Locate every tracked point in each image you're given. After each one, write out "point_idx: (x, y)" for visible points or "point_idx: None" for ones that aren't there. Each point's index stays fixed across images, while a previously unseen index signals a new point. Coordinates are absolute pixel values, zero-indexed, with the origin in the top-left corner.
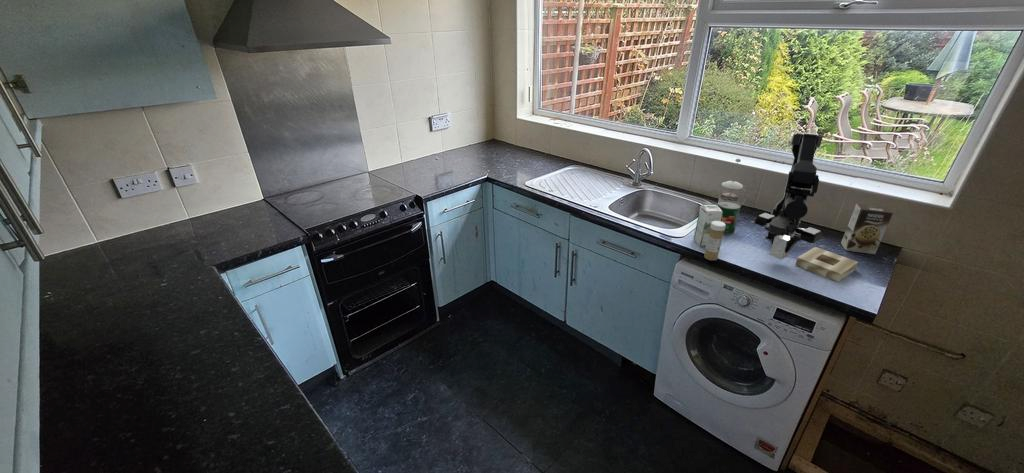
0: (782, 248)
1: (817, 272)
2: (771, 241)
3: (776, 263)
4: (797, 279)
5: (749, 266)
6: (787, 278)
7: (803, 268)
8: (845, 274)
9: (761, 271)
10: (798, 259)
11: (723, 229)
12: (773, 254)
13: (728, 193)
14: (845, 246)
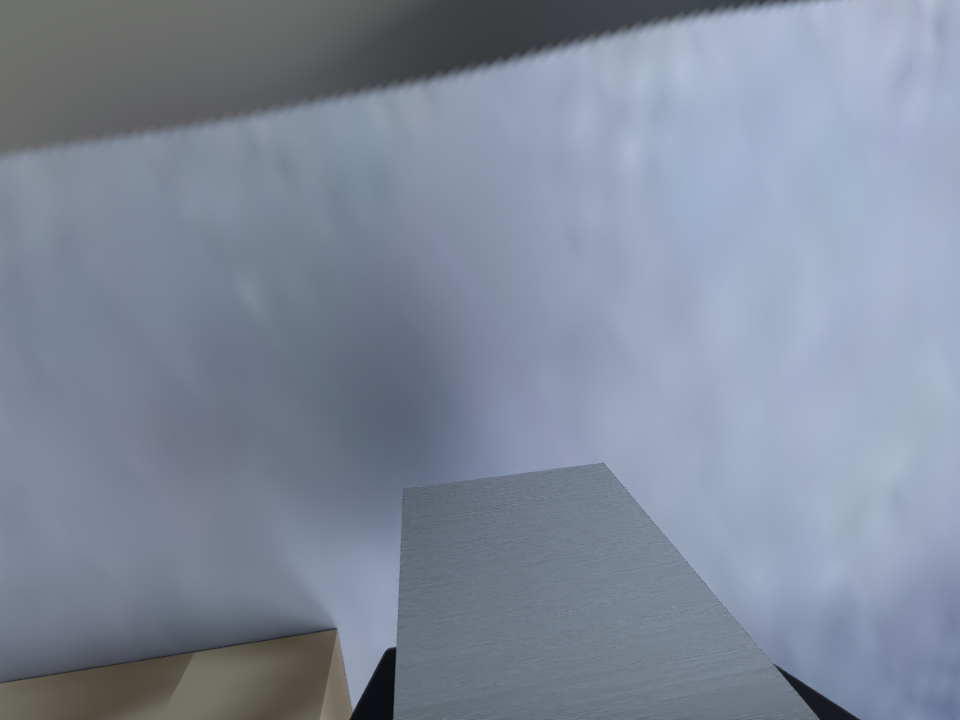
0: (458, 647)
1: (50, 690)
2: (816, 691)
3: None
4: (54, 338)
5: (637, 83)
6: (136, 237)
7: (233, 646)
8: None
9: (458, 94)
10: (300, 717)
11: None
12: (555, 487)
13: None
14: None
